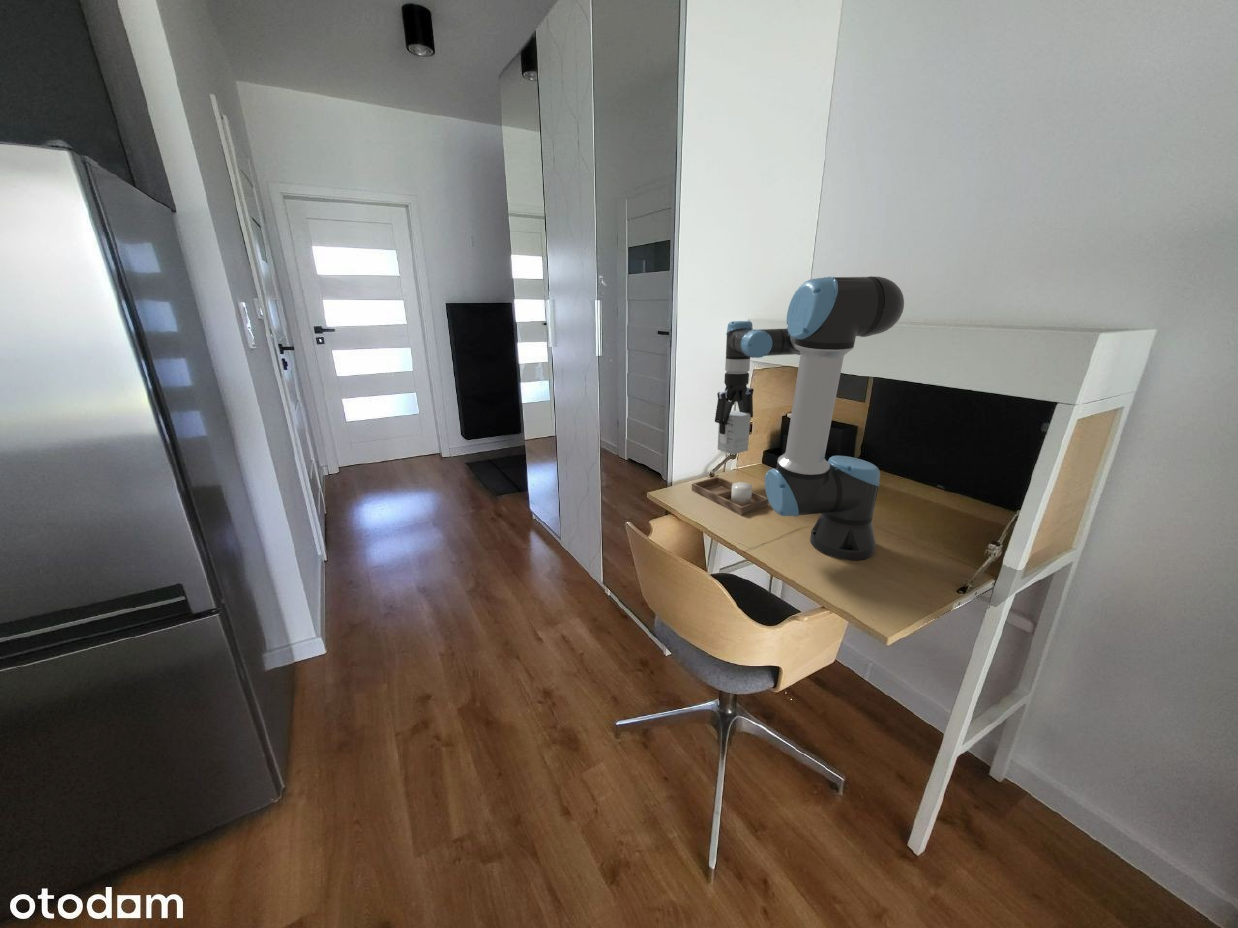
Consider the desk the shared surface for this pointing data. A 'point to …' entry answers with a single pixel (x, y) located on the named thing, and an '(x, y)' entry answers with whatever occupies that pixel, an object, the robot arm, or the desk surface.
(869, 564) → the desk surface
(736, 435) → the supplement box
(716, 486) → the tray
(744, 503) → the ceramic jar
